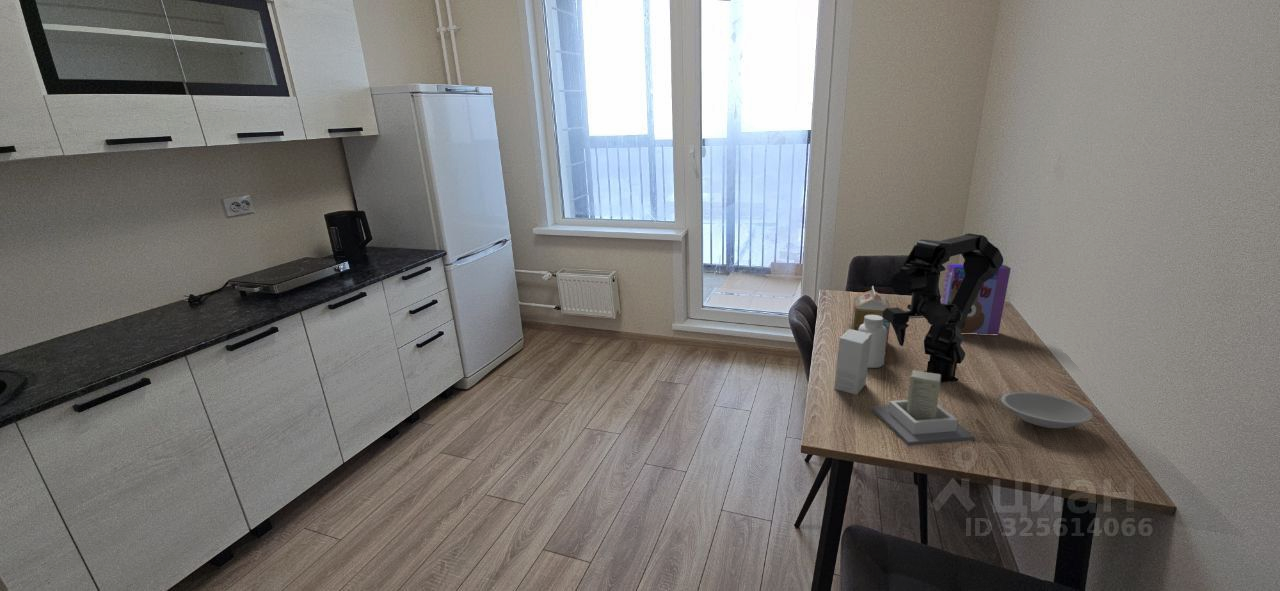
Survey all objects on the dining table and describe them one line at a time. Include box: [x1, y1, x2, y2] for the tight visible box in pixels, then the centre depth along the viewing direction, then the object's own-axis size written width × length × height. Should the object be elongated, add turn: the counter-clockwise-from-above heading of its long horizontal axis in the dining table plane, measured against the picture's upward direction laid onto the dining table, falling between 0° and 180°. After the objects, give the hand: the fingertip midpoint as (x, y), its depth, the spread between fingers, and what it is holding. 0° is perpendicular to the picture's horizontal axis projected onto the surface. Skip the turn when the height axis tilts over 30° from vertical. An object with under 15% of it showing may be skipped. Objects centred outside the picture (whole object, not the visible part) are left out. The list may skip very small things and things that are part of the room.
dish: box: [1000, 391, 1094, 429], centre depth 124 cm, size 18×14×5 cm
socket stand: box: [871, 399, 976, 447], centre depth 126 cm, size 16×16×4 cm
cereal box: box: [941, 263, 1011, 335], centre depth 179 cm, size 17×5×24 cm, turn 80°
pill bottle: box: [858, 315, 887, 369], centre depth 158 cm, size 8×8×15 cm
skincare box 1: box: [833, 328, 872, 396], centre depth 144 cm, size 8×7×16 cm
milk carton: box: [850, 285, 891, 353], centre depth 171 cm, size 11×11×19 cm
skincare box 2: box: [907, 369, 941, 420], centre depth 124 cm, size 6×4×12 cm
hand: (917, 344), depth 140 cm, fingers open, 9 cm apart
